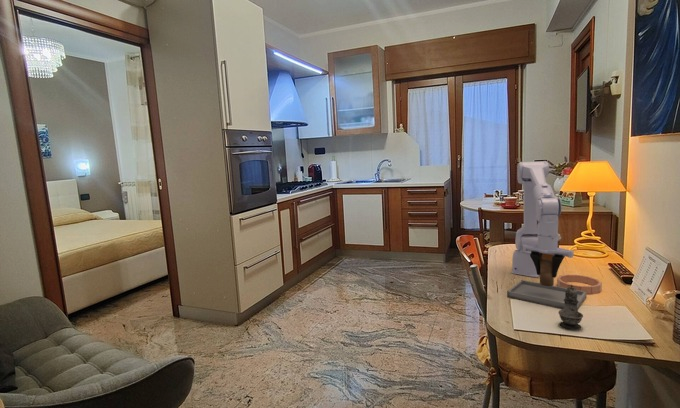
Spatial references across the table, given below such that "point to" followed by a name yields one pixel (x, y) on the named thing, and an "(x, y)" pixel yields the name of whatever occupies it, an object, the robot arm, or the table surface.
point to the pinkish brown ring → (592, 289)
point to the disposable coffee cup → (549, 256)
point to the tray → (542, 294)
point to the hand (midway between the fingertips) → (546, 275)
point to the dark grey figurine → (570, 311)
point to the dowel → (546, 272)
